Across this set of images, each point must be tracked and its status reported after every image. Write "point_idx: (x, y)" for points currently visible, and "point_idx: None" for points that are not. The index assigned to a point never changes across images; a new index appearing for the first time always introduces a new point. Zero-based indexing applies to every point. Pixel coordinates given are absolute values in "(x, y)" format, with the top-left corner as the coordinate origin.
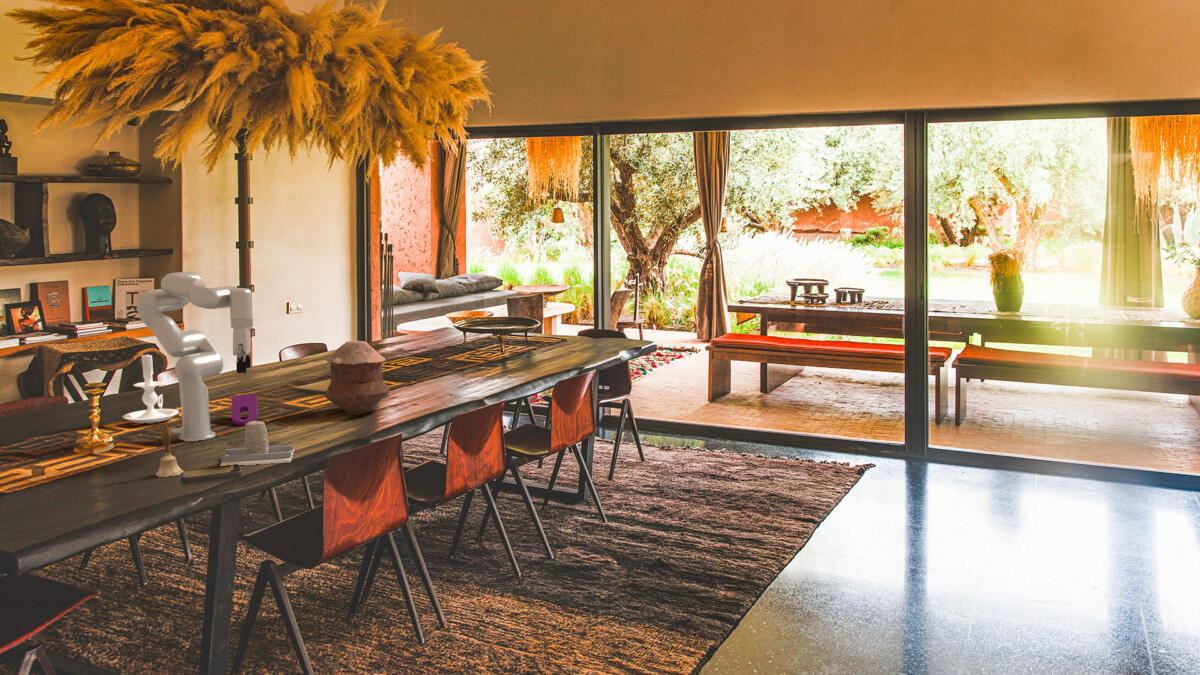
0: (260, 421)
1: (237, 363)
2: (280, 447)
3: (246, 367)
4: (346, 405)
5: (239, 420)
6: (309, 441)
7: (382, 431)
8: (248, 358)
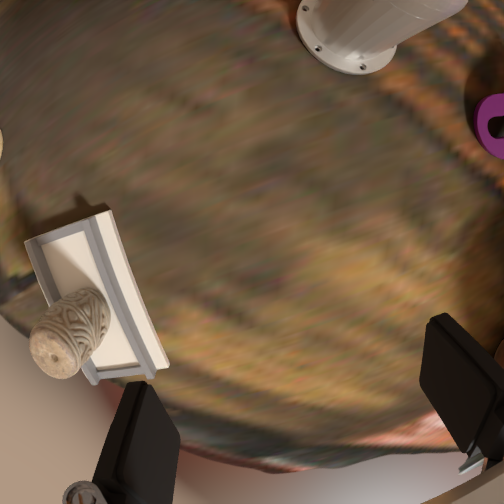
0: (67, 369)
1: (108, 468)
2: (136, 354)
3: (422, 362)
4: (500, 360)
5: (482, 117)
6: (279, 366)
7: (346, 449)
8: (462, 442)
